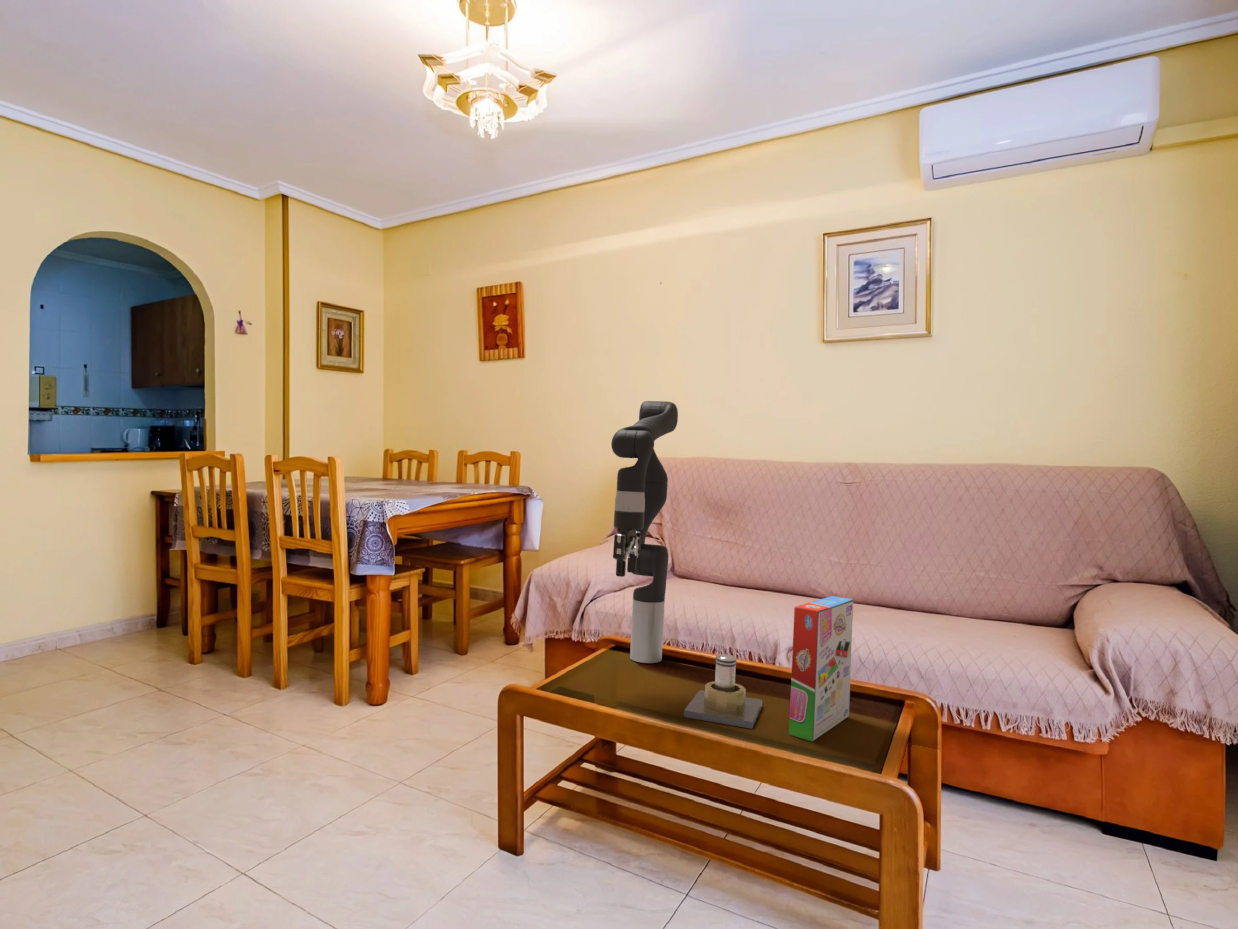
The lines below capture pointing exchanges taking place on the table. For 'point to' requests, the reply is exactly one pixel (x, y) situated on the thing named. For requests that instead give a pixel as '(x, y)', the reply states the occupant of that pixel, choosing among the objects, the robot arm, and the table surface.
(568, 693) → the table surface
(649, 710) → the table surface
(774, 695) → the table surface
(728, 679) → the piston
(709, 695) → the tan pot on tray
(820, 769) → the table surface
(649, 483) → the robot arm
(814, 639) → the game box
